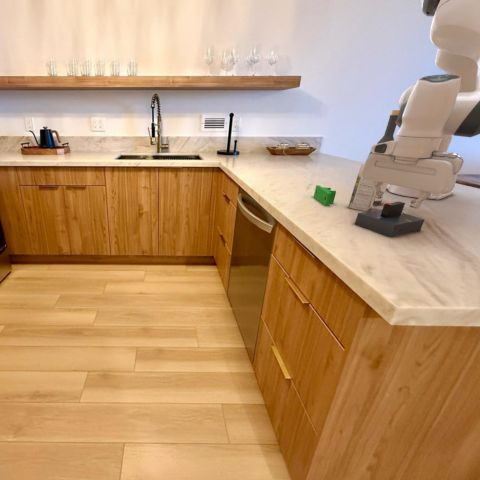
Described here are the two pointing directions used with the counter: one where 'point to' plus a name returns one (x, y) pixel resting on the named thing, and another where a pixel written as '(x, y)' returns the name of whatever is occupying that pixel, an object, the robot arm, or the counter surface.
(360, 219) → the block
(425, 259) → the counter surface
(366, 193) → the syrup box
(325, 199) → the pipe clamp
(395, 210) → the black small block
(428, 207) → the counter surface
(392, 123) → the wine bottle
